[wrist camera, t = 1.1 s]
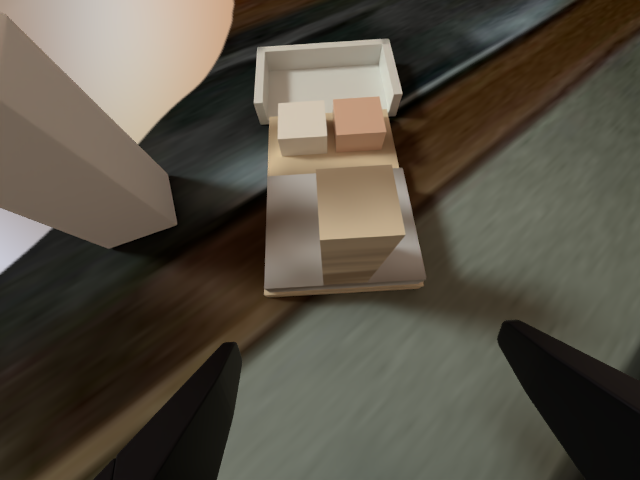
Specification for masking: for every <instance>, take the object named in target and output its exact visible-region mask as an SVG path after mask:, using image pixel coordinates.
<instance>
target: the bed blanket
mask: <svg viewBox="0 0 640 480" xmlns="http://www.w3.org/2000/svg"><path fill="white" fill-rule="evenodd" d="M426 279H427V278H426V273H425V268H424V264H423V259H422V255H421V250H420V245H419V241H418V236H417V232H416V227H415V222H414V218H413V213H412V209H411V204H410V199H409V195H408V190H407V186H406V181H405V176H404V172H403V168H392V164H391V165H375V166H359V167H344V168H328V169H316V173H312V174H296V175H280V176H268V183H267V216H266V250H265V283H264V289H265V290H267V291H268V292H270V293H273V292H290V291H307V290H324V289H341V288H358V287H375V286H392V285H409V284H419V283H421V282H423V281H425V280H426Z"/></svg>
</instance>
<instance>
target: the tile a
mask: <svg viewBox="0 0 640 480" xmlns="http://www.w3.org/2000/svg"><path fill="white" fill-rule="evenodd" d="M278 143H279V147H280V150H281V154H282V156H295V155H311V154H327V127H326V115H325V103H324V100H320V101H304V102H289V103H278Z"/></svg>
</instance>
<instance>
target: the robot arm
mask: <svg viewBox="0 0 640 480" xmlns="http://www.w3.org/2000/svg"><path fill="white" fill-rule="evenodd" d="M497 341H498V344H499V346H500V348H501V350H502V352H503V354H504V355H505V357H506V359H507V361H508V362H509V364H510V366H511V368H512V369H513V371H514V373H515V375H516V376H517V378H518V380H519V382H520V383H521V385H522V387H523V389H524V390H525V392H526V393H527V395H528V396H529V398H530V400H531V401H532V403H533V404H534V405H535V407H536V408H537V410H538V411H539V413H540V414H541V416H542V417H543V419H544V420H545V422H546V423H547V424H548V426H549V427H550V429H551V430H552V432H553V433H554V435H555V436H556V438H557V439H558V441H559V442H560V443H561V445H562V446H563V448H564V449H565V451H566V452H567V454H568V455H569V457H570V458H571V460H572V461H573V462H574V464H575V465H576V467H577V468H578V470H579V471H580V473H581V474H582V476H583V477H584V479H585V480H640V381H638V380H636V379H634V378H632V377H631V376H629V375H627V374H625V373H623V372H621V371H619V370H617V369H615V368H613V367H611V366H609V365H607V364H605V363H603V362H601V361H599V360H597V359H595V358H593V357H591V356H589V355H587V354H585V353H583V352H581V351H579V350H577V349H575V348H573V347H571V346H569V345H567V344H565V343H563V342H561V341H559V340H557V339H555V338H553V337H551V336H549V335H547V334H545V333H543V332H541V331H539V330H538V329H536V328H534V327H532V326H530V325H528V324H526V323H524V322H522V321H519V320H506V321H504V322H503V323H502V326H501V329H500V331H499V334H498V337H497ZM241 367H242V358H241V354H240V351H239V348H238V345H237V343H236V342H226V343H223V344H222V345H221V346H220V347H219V348H218V349H217V350H216V351H215V352H214V353H213V354H212V355H211V356H210V357H209V358H208V359H207V361H206V362H205V363H204V364H203V365H202V366H201V367H200V368H199V369H198V370H197V371H196V372H195V373H194V374H193V375H192V376H191V377H190V378H189V380H188V381H187V382H186V383H185V384H184V385H183V386H182V387H181V388H180V389H179V390H178V391H177V392H176V393H175V394H174V395H173V396H172V397H171V398H170V400H169V401H168V402H167V403H166V404H165V405H164V406H163V407H162V408H161V409H160V410H159V411H158V412H157V413H156V414H155V415H154V416H153V417H152V419H151V420H150V421H149V422H148V423H147V424H146V425H145V426H144V427H143V428H142V429H141V430H140V431H139V432H138V433H137V434H136V435H135V436H134V438H133V439H132V440H131V441H130V442H129V443H128V444H127V445H126V446H125V447H124V448H123V449H122V450H121V451H120V452H119V453H118V454H117V456H116V458H115V459H113V460H112V461H111V462H110V463H109V464H108V465H107V466H106V467H105V468H104V469H103V470H102V471H101V472H100V473H99V474H98V475H97V476H96V477H95V478H94V480H217V476H218V473H219V469H220V465H221V461H222V457H223V454H224V450H225V446H226V442H227V439H228V435H229V431H230V427H231V423H232V419H233V415H234V410H235V404H236V398H237V392H238V385H239V379H240V373H241Z"/></svg>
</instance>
